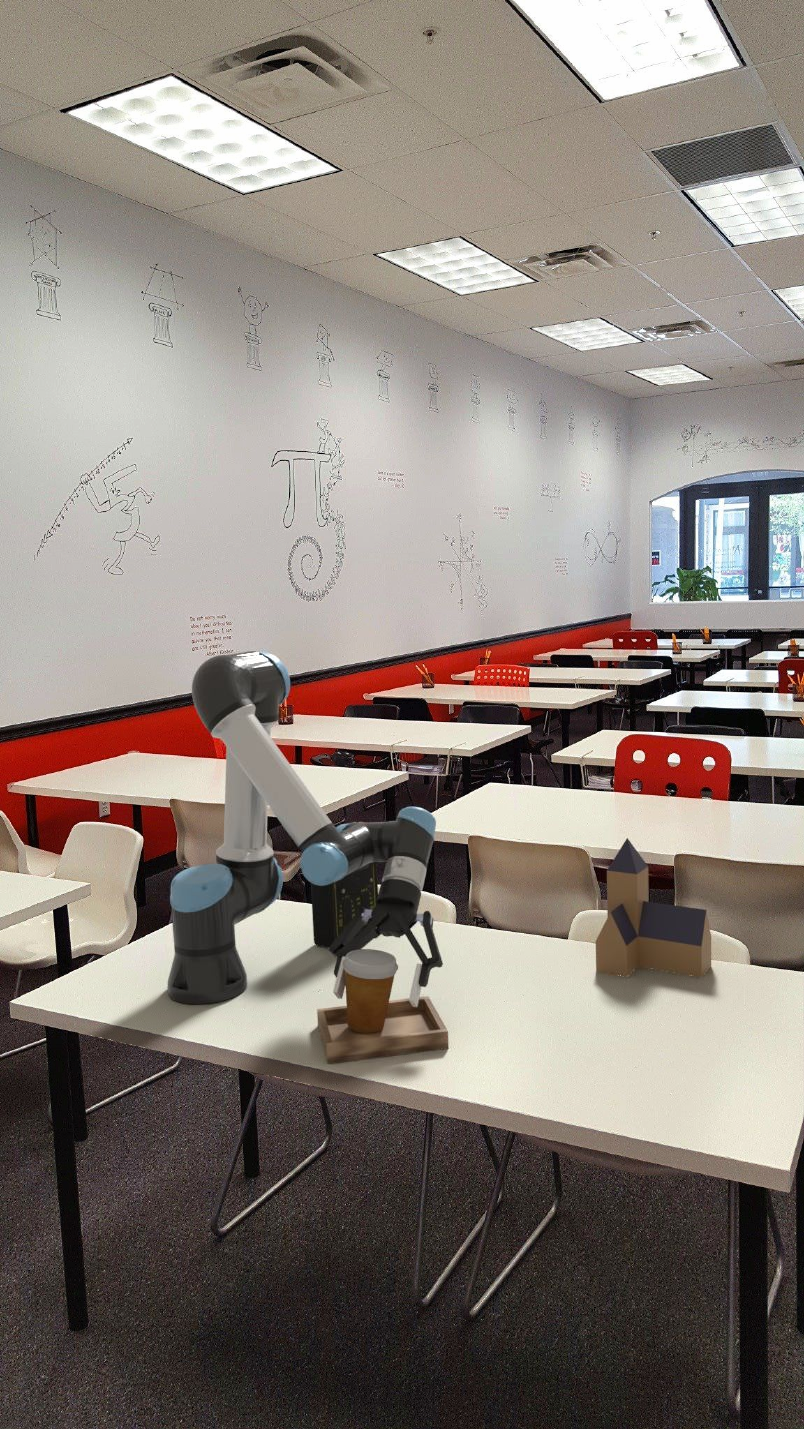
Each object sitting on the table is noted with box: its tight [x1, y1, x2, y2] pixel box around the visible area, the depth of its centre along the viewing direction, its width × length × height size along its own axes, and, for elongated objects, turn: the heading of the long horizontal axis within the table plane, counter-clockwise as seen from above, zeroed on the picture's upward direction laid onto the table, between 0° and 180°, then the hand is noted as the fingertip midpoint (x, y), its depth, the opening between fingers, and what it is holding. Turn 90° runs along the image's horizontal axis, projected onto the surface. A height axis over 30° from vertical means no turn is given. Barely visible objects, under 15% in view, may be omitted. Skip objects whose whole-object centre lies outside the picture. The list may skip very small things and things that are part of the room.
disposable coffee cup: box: [343, 948, 399, 1033], centre depth 172 cm, size 10×10×12 cm
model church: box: [595, 838, 712, 978], centre depth 194 cm, size 12×19×25 cm, turn 57°
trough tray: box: [316, 995, 450, 1065], centre depth 170 cm, size 20×15×3 cm
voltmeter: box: [310, 821, 379, 949], centre depth 218 cm, size 16×9×25 cm, turn 143°
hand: (374, 999), depth 168 cm, fingers open, 13 cm apart
